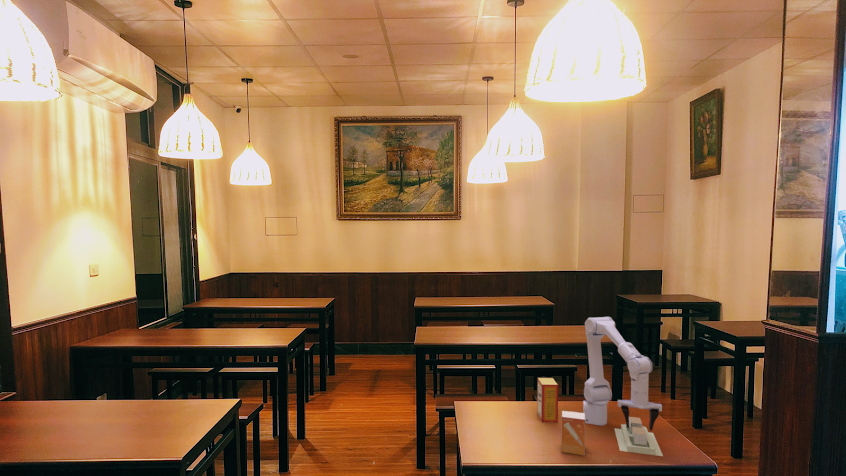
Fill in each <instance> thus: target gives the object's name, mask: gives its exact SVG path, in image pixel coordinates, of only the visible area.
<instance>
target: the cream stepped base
mask: <svg viewBox="0 0 846 476" xmlns="http://www.w3.org/2000/svg"><path fill="white" fill-rule="evenodd" d="M642 428H644V430H645V432H646V435H647V447H641V446H633V445H632V434H629V428H627V426H626V423H621V424H620V428H617V427H616V428H614V433H615V437H616V440H617V445H618V447H619V449H618V450H619V451H620V452H627V453H634V454H642V455H650V456H659V457H664V455H663V452H662V450H661V448H660V446H659V444H658V441H657V438H656V437H655V434H654V432H649V431H648V428H647V426H643V425H642Z"/></svg>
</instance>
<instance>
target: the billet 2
mask: <svg viewBox="0 0 846 476" xmlns="http://www.w3.org/2000/svg"><path fill="white" fill-rule="evenodd" d="M632 445H633V446H641V447H647V435H646V432H645V430H644V428H638V427H632Z"/></svg>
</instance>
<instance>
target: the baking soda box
mask: <svg viewBox="0 0 846 476" xmlns="http://www.w3.org/2000/svg"><path fill="white" fill-rule="evenodd" d="M536 387H537V388H536V389H537V392H536V394H537V400H536V401H537V402H536V403H537V405H536V406H537V407H536V408H537V409H536V410H537V411H536V413H537V416H538V418H539V420H540V421H542V422H541V423H550V422H553V424H554V423H555V424H556V423H558V422H559V384H558V383H557V382H556V381H555V379H554V378H553V377H537V386H536Z"/></svg>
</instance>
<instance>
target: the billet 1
mask: <svg viewBox="0 0 846 476" xmlns="http://www.w3.org/2000/svg"><path fill="white" fill-rule="evenodd" d="M642 422H643V421H642V419H641V417H635V416H629V434H632V427H638V428H642V426H643V423H642Z"/></svg>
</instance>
